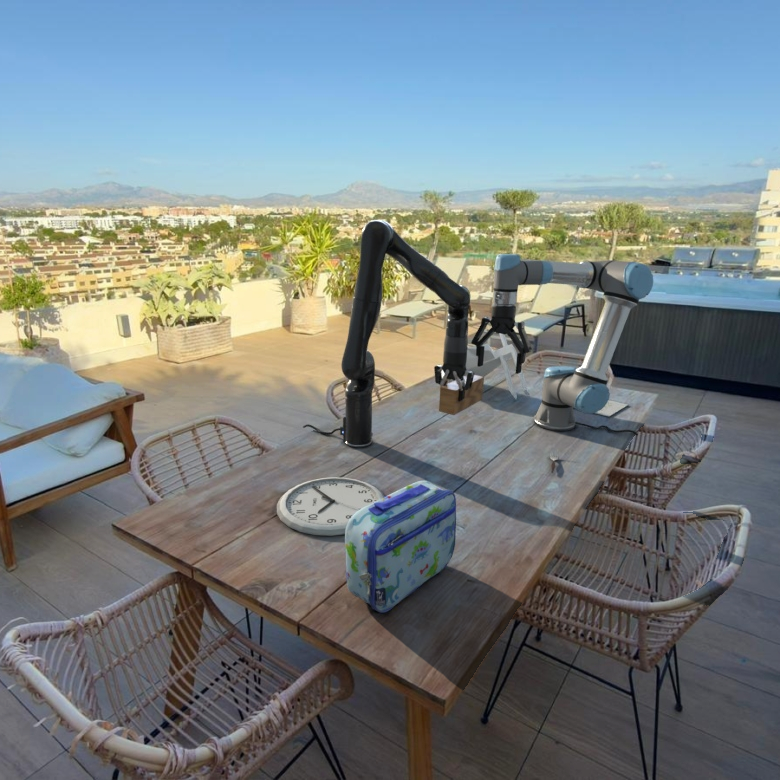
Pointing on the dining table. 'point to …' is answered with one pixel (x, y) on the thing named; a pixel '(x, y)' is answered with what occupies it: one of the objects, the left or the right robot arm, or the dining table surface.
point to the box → (451, 394)
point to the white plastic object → (494, 363)
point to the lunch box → (399, 543)
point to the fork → (554, 460)
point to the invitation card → (611, 408)
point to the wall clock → (325, 504)
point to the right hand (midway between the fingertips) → (498, 369)
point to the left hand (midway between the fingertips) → (452, 398)
